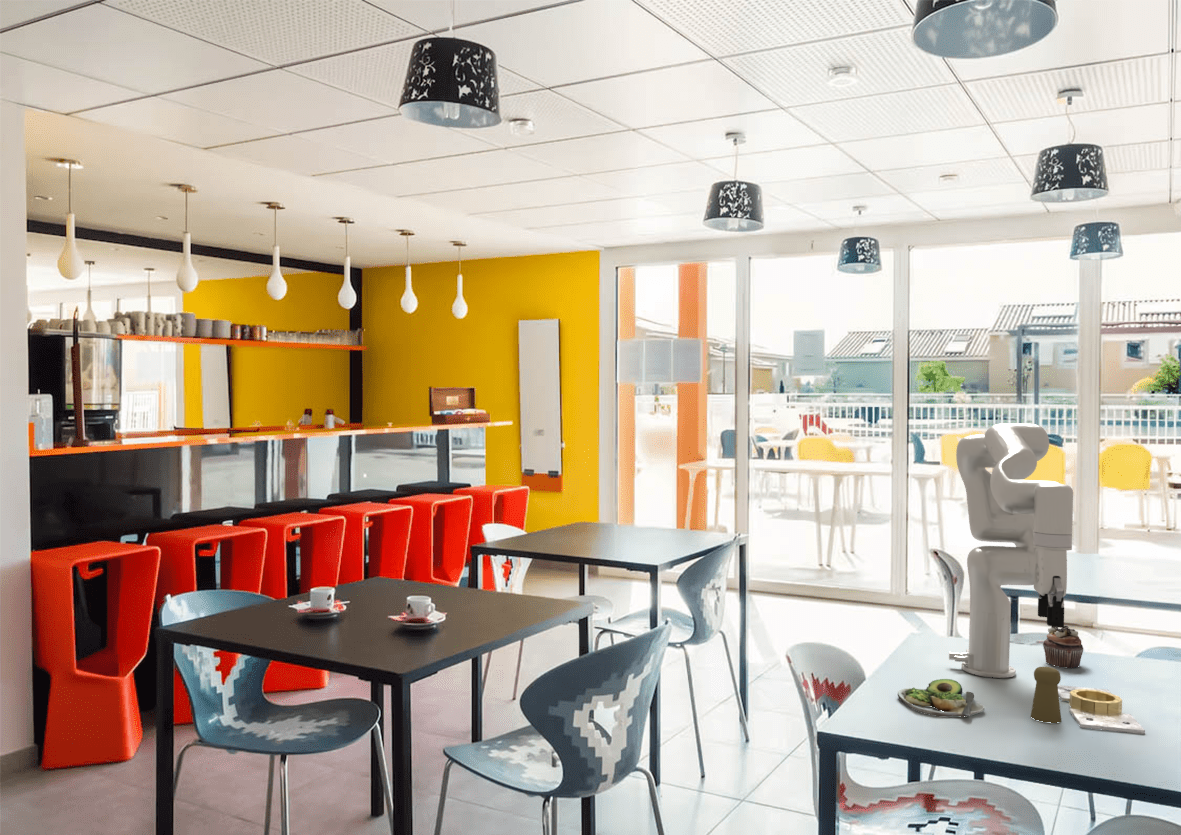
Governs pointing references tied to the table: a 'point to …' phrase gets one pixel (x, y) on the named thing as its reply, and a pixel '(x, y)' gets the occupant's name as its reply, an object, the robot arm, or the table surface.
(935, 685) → the avocado toast plate
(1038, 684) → the cork
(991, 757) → the table surface
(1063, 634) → the cupcake
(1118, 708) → the mounting plate with ring
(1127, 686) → the table surface
